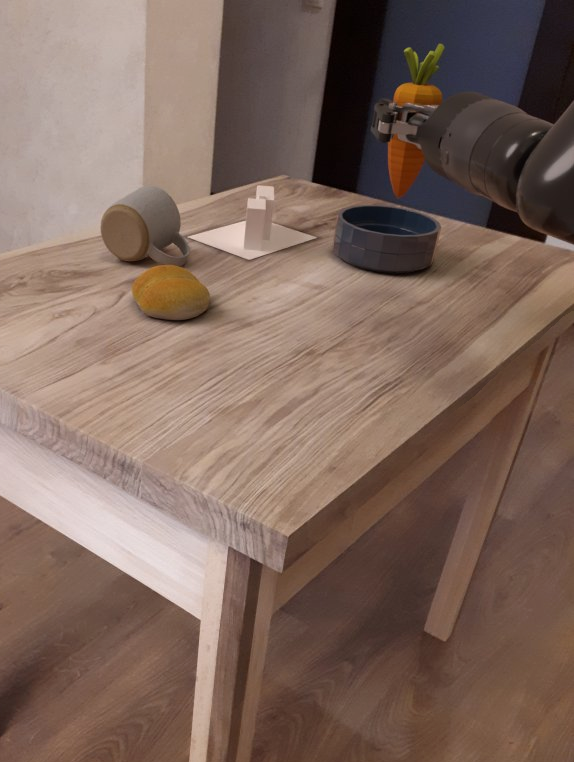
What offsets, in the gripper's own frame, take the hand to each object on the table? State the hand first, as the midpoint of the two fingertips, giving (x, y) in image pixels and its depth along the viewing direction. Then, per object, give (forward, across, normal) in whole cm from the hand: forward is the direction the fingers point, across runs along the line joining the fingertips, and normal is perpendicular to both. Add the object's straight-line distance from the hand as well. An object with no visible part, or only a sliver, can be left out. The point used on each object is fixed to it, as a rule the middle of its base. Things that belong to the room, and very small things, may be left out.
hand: (404, 109), depth 85 cm
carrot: (-3, 0, +9) cm, 9 cm away
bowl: (+10, -6, +20) cm, 23 cm away
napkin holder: (+19, +10, +20) cm, 29 cm away
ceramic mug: (+12, +25, +20) cm, 34 cm away
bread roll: (-4, +26, +20) cm, 33 cm away
